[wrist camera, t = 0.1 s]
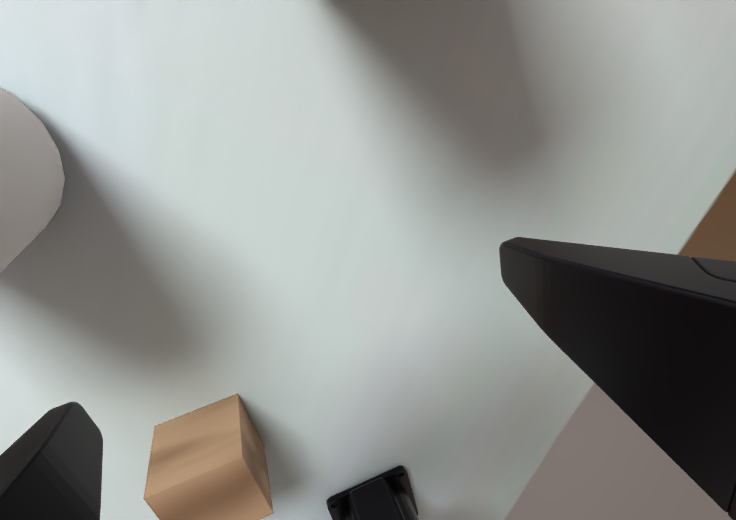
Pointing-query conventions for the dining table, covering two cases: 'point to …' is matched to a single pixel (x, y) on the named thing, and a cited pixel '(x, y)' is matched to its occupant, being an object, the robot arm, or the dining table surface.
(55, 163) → the can
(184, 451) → the light brown wooden cube
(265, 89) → the dining table surface
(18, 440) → the robot arm
